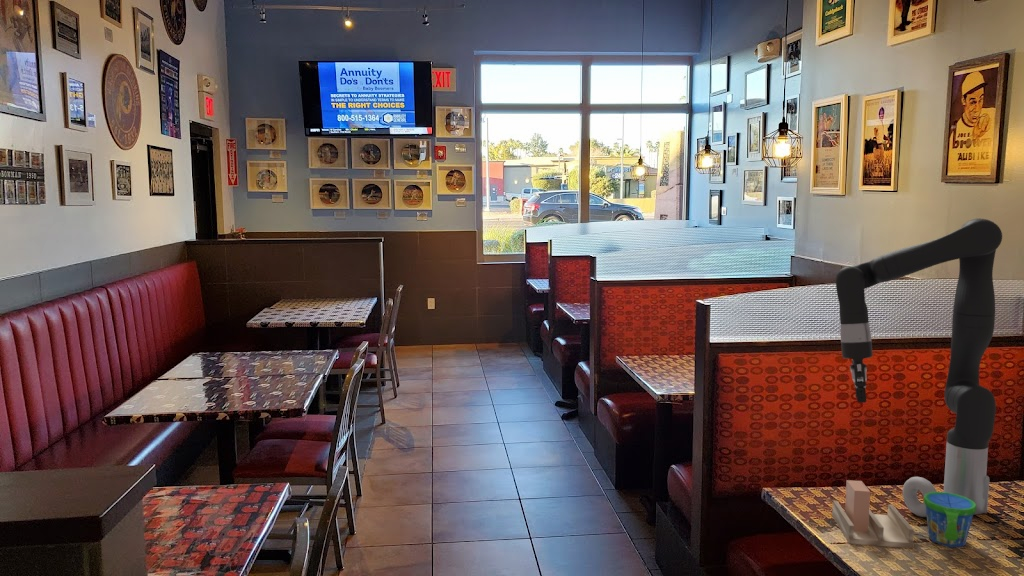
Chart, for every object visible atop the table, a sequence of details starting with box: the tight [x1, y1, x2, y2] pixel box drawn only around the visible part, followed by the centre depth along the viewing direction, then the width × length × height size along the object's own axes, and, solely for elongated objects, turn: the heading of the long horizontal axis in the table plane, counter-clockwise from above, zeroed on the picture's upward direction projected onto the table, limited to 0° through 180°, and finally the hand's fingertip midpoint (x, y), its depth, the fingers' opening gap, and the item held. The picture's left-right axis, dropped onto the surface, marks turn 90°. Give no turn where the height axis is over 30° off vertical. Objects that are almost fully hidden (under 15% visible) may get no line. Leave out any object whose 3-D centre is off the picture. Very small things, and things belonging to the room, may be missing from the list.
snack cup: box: [923, 491, 976, 548], centre depth 176 cm, size 16×10×10 cm
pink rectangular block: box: [844, 479, 871, 532], centre depth 182 cm, size 4×7×10 cm, turn 171°
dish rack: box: [831, 500, 915, 549], centre depth 182 cm, size 14×16×4 cm
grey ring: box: [902, 476, 938, 518], centre depth 191 cm, size 10×4×10 cm, turn 18°
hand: (861, 400), depth 202 cm, fingers open, 8 cm apart
